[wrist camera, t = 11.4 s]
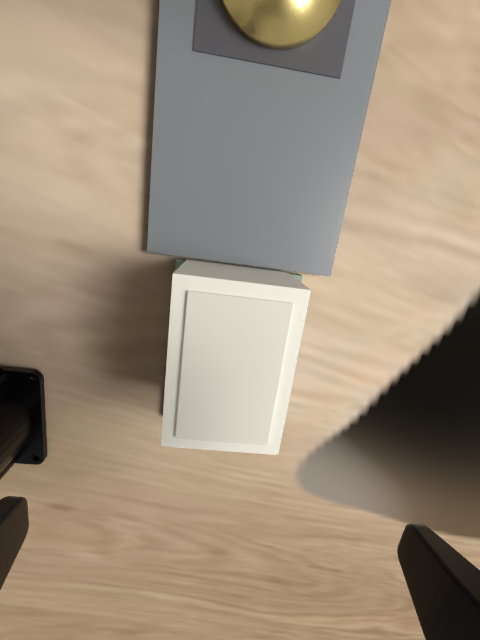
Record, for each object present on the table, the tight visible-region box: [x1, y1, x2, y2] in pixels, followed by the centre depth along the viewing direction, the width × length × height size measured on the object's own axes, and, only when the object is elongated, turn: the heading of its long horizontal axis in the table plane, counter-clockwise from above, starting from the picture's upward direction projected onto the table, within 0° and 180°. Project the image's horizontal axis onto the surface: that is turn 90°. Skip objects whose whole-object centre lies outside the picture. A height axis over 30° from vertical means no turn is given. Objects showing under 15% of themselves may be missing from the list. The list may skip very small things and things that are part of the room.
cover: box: [161, 259, 311, 455], centre depth 16 cm, size 8×6×5 cm
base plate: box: [147, 0, 391, 276], centre depth 15 cm, size 16×10×1 cm, turn 172°
